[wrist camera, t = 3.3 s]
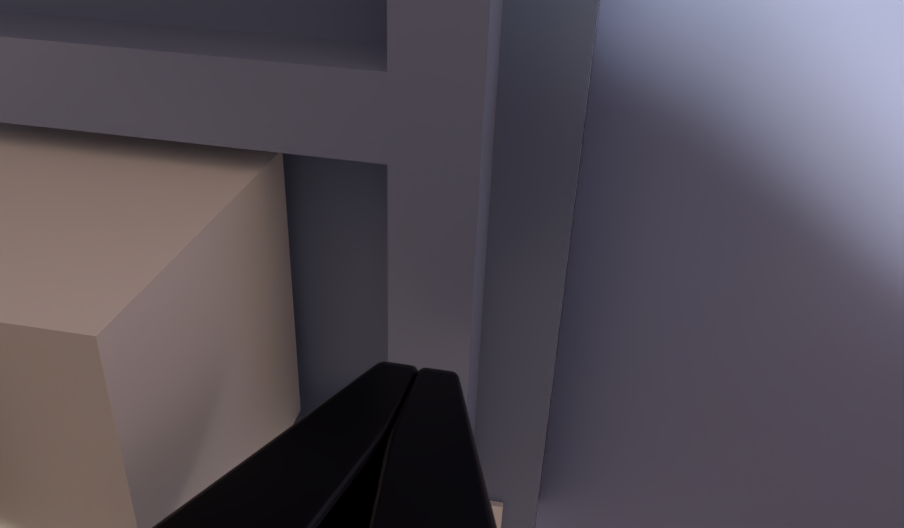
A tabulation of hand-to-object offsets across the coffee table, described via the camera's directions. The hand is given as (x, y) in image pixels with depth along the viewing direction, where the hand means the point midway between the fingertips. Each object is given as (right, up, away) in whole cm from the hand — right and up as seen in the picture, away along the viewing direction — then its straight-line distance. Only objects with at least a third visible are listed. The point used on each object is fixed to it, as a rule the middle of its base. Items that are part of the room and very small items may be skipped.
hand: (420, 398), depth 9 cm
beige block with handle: (-4, +1, +2) cm, 5 cm away
